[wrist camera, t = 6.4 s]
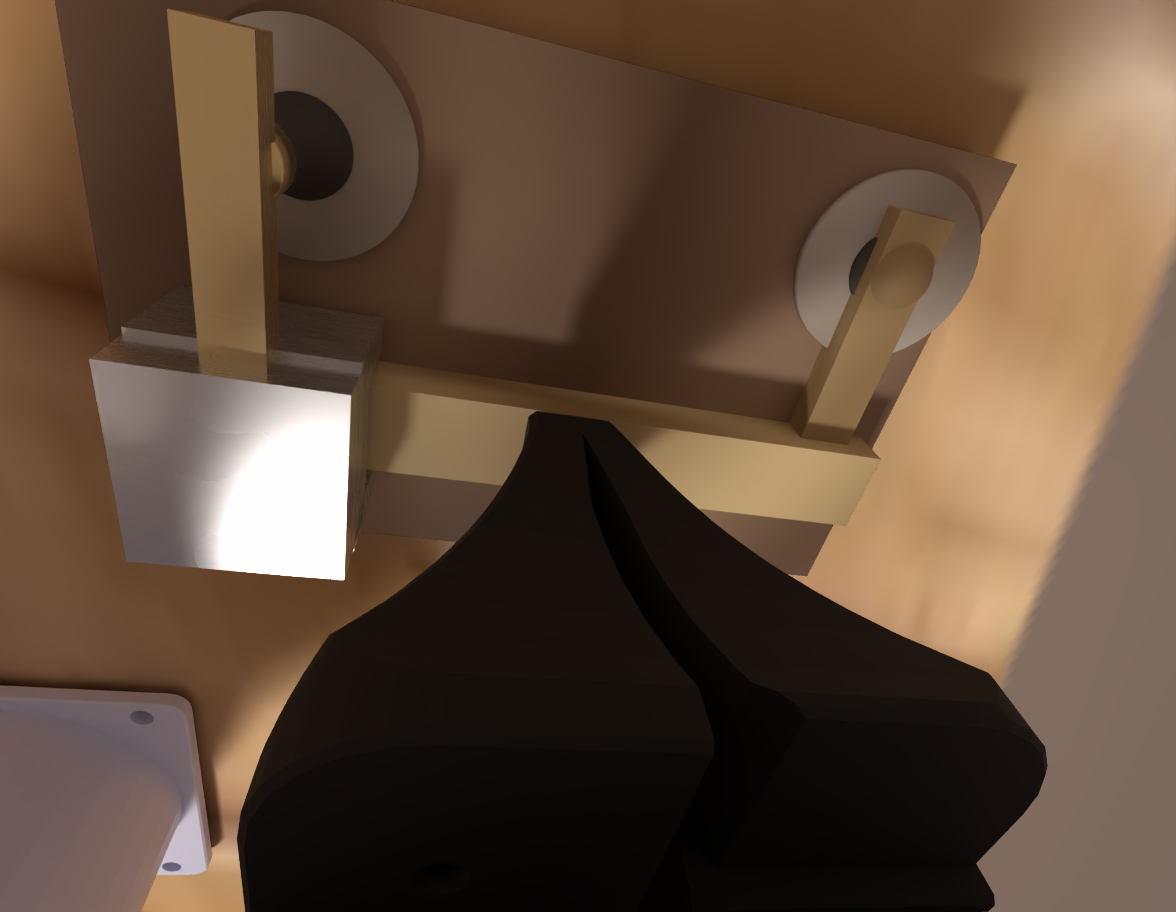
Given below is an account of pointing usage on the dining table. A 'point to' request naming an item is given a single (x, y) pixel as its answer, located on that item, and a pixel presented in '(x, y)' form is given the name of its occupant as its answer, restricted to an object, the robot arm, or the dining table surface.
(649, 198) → the wooden mechanism board
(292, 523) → the sliding leg
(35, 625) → the dining table surface
